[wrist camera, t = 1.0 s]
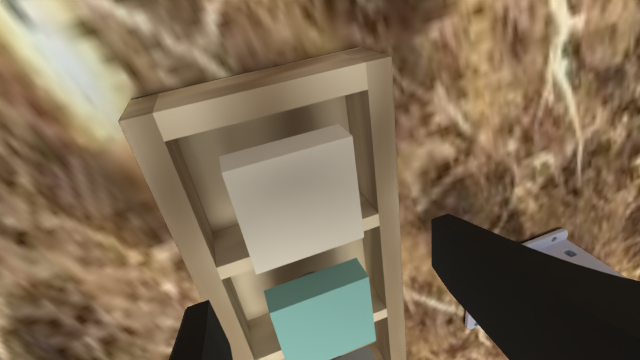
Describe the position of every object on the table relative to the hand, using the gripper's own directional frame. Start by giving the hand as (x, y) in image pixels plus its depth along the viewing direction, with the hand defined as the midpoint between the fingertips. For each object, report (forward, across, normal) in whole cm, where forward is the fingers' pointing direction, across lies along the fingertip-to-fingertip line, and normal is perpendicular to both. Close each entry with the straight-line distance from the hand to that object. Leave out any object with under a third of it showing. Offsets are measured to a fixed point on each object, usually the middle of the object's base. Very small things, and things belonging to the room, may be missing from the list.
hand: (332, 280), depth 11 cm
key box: (+9, 0, +7) cm, 12 cm away
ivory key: (+7, 0, 0) cm, 7 cm away
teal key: (+7, 0, +7) cm, 10 cm away
